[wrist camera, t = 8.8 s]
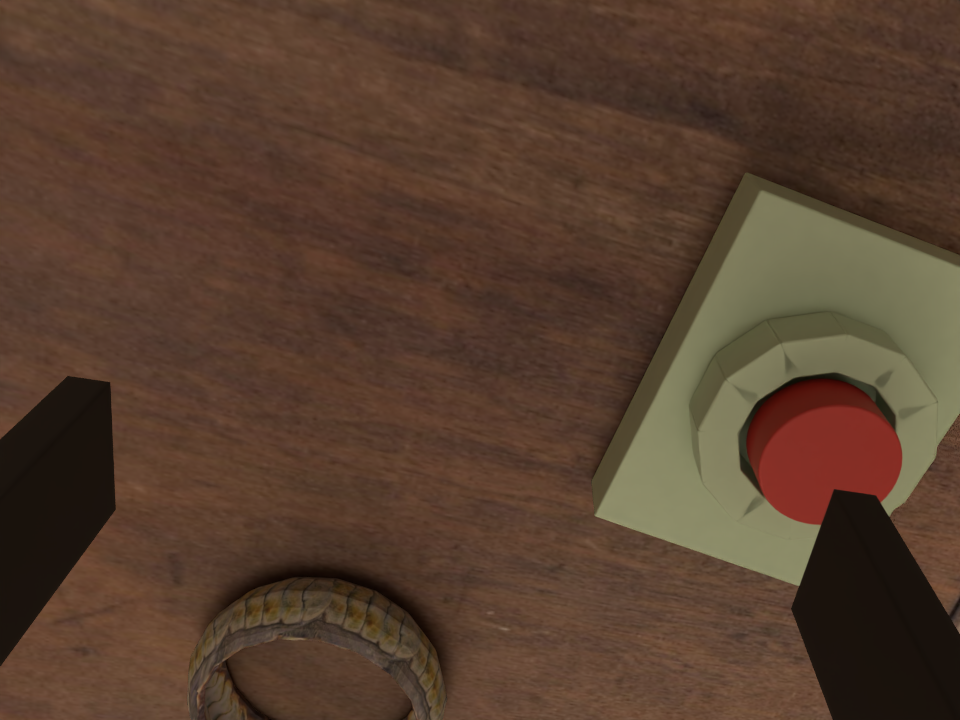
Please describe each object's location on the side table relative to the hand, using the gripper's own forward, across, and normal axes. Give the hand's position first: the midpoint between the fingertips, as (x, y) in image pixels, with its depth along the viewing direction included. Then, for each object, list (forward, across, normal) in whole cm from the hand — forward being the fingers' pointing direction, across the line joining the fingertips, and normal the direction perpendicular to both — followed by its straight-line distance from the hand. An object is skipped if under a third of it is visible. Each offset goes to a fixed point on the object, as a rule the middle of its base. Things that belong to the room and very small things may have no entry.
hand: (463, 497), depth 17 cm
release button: (+10, +10, -3) cm, 15 cm away
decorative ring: (+14, -4, -18) cm, 24 cm away
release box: (+14, +10, -3) cm, 18 cm away
